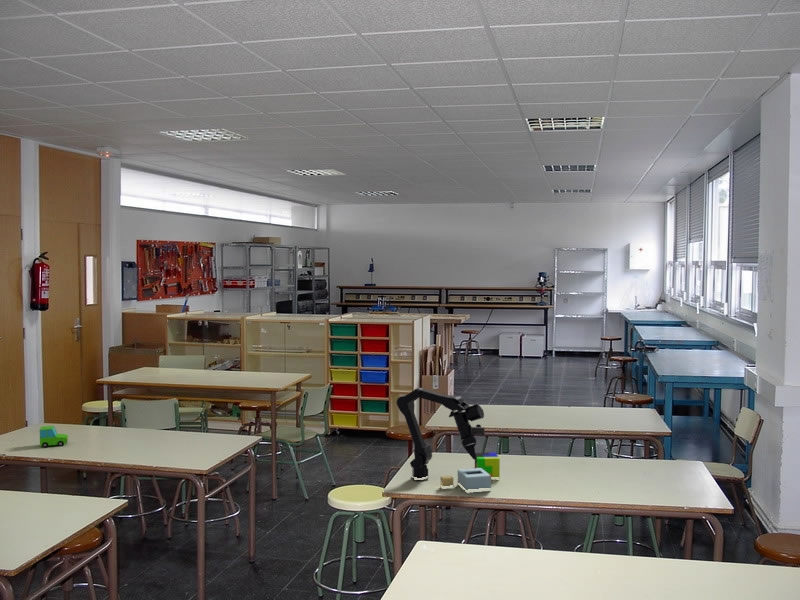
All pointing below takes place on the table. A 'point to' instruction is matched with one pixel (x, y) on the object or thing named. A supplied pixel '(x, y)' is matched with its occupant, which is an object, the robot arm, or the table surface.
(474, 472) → the money box
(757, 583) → the table surface
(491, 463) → the puzzle toy
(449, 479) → the token
